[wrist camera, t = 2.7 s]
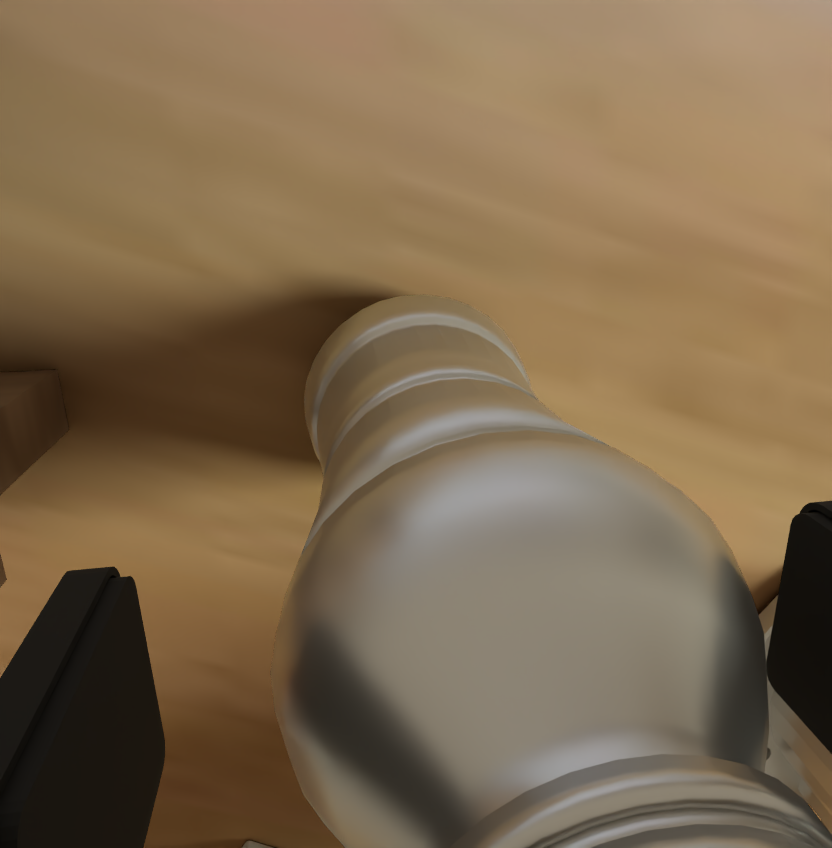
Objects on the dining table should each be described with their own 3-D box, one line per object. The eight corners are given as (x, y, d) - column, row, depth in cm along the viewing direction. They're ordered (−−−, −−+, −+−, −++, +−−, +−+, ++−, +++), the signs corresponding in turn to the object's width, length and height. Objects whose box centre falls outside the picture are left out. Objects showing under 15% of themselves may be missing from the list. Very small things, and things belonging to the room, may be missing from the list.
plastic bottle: (513, 452, 25) (1110, 1316, 6) (323, 484, 24) (305, 1533, 5) (497, 268, 22) (1371, 699, 4) (288, 298, 22) (57, 972, 3)
